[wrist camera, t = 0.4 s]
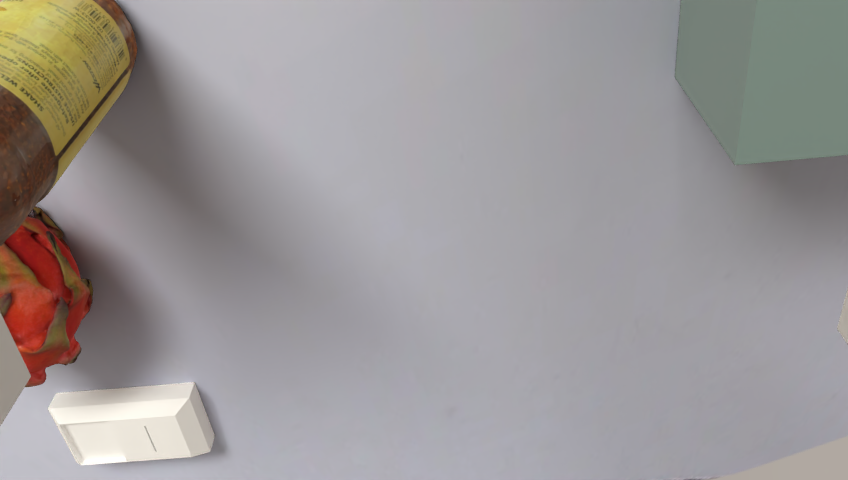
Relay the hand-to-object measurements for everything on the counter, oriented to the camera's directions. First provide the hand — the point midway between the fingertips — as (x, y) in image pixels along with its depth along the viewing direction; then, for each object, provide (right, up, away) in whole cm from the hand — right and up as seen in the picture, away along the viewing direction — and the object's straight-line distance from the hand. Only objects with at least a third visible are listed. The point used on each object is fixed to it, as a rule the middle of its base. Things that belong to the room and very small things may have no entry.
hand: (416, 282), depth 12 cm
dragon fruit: (-22, 0, +32) cm, 39 cm away
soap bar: (-19, -10, +39) cm, 45 cm away
